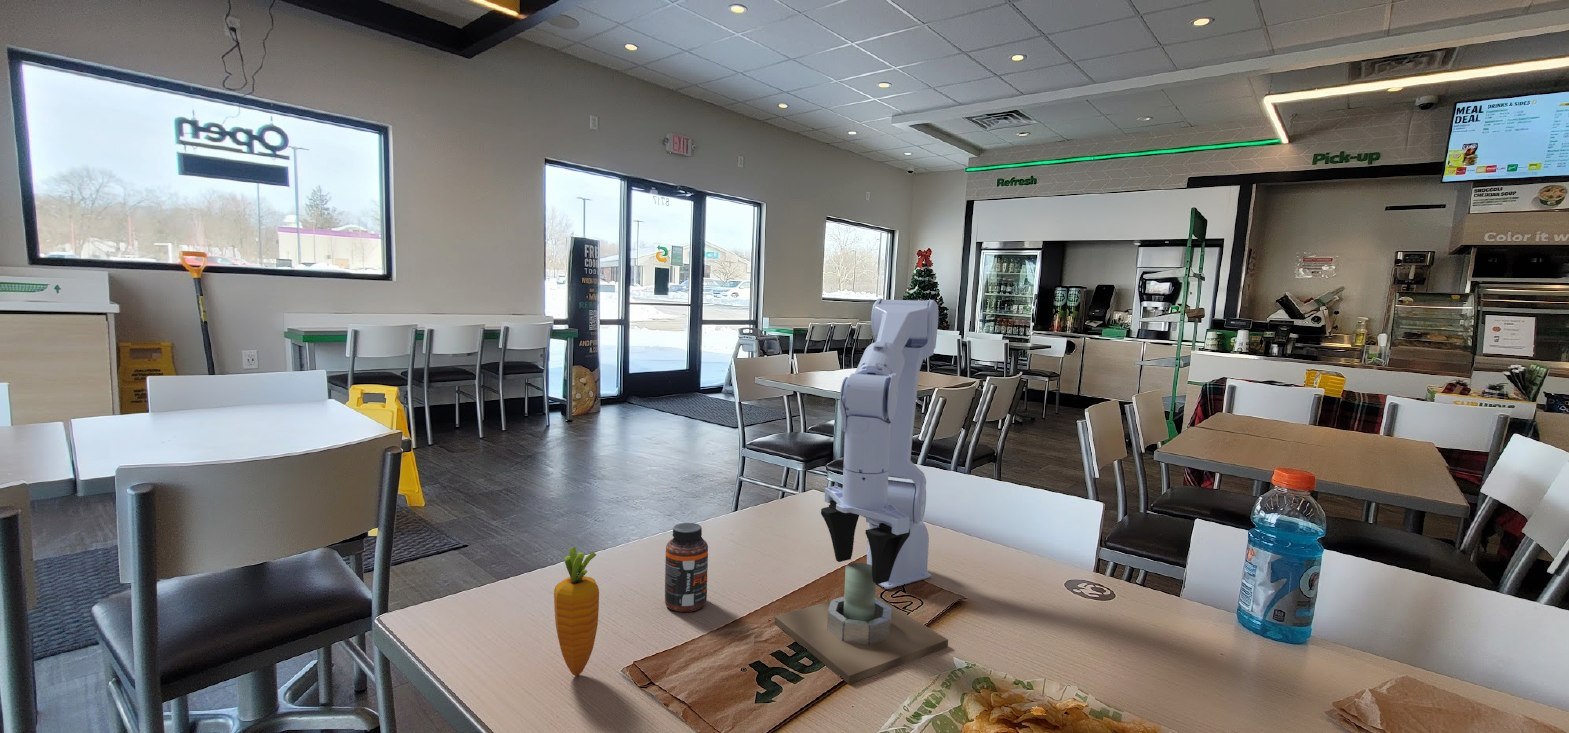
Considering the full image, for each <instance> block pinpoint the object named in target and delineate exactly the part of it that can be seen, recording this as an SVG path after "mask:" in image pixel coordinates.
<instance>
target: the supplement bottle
mask: <svg viewBox="0 0 1569 733" xmlns="http://www.w3.org/2000/svg"><path fill="white" fill-rule="evenodd" d="M702 533H703V531H702V525H700V524H699V523H696V522H695V523H694V522H681V523H680V522H679V523H677V524H675V525H673V527H672V537H673V538H672V539H670V540H669V541H667V543H666V546H665V560H664V561H665V562H664V563H665V570H664V571H665V572H664V573H665V574H664V576H665V577H664V578H665V580H664V603H665V605H666V607H667V608H668V609H670V610H672V611H674V612H675V611H676V612H681V613H689V612H695V611H698V610H700V609H702V607H704V606H705V605H706V604H707V598H708V567H709V564H708V562H709V546H708V542H707V540H705V539H704V538H703V537H702V535H703V534H702Z"/></svg>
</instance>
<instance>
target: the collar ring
mask: <svg viewBox="0 0 1569 733" xmlns="http://www.w3.org/2000/svg"><path fill="white" fill-rule="evenodd" d="M830 601H831V600H830ZM890 627H891V607H890V606H888V605H887V604H885V603H883V602H882V601H880V600H878V599H877V598H875V615H874V620H871V621H868V622H866V621H859V620H851V619H847V618H845V617H844V596H840V597H837V598H832V601H831V602H830V606H829V609H828V619H827V629H828V631H829V632H831V633H832V634H833V635H835V636H836V637H837V638H839V639H840V640H841V641H843V640H844V642H850V643H858V644H865V645H868V644H870V645H871V644H874V643H877V642H880V641H883V640H886V639H888V638H889V636H890Z"/></svg>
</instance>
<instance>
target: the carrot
mask: <svg viewBox="0 0 1569 733" xmlns="http://www.w3.org/2000/svg"><path fill="white" fill-rule="evenodd" d="M585 555H586V554H585V553H584V552H580V551H578V553H577V549H576V547H575V546H574V547H570V548H569V549H568V555H567V556H565V557H564V564H565V567H566V570H567V572H568V574H569V576H568V577H566V578H564V579H563V580H561V581H560V582H558V583H556V585H555V586H554V589H553V603H554V605H553V606H554V617H555V618H554V619H555V620H554V621H555V627H556V628H555V629H556V634H557V639H558V642H559V643H558V644H559V647H560V651H561V654H562V655H561V656H562V657H563V660H564V662H565V664H566V666H567V668H568V669H569V671H570V673H571V675H573V676H575V677H579V676H580V675H581V674H582V673H583V672H584V670H585V668H586V666H587V664H588V662H589V660H590V657H591V655H592V652H593V650H594V646H595V641H596V636H597V630H598V625H599V612H600V611H599V609H600V605H599V604H600V589H599V586H598V583H597V582H596V580H595V578H593V577H591V576H585V575H586V574H587V573H588V570H587V569H586V568H587V565H588V564H589V562H590V561H592V560H593V559H594V557H596V556H597V554H596V553H595V552H592V553H590V554H589V555H588V556H586V557H585ZM584 558H585V559H584Z"/></svg>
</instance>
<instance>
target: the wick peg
mask: <svg viewBox="0 0 1569 733" xmlns="http://www.w3.org/2000/svg"><path fill="white" fill-rule="evenodd" d="M844 568H845V572H844V594H843V597H844V617H845V618H847V619H851V620H859V621H866V622H868V621H871V620H874V615H875V596H876V591H877V590H876V588H877V584H876V583H874V582H873V578H872V565H869V564H867V563H863V562H852V563H849V564H847V565H846V566H845V567H844Z"/></svg>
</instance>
